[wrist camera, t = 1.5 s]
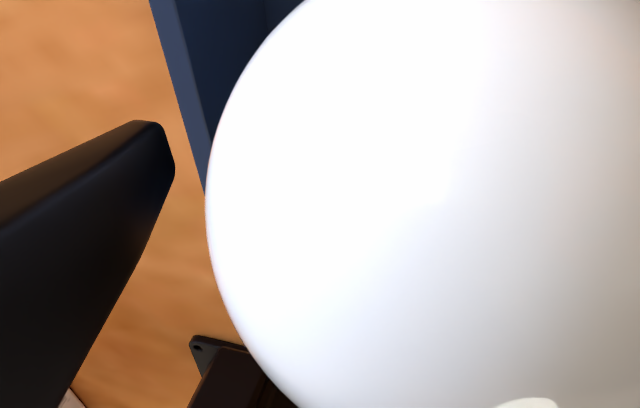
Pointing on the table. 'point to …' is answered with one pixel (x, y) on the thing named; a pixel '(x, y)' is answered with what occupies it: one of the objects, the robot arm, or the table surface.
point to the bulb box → (211, 57)
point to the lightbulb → (436, 204)
